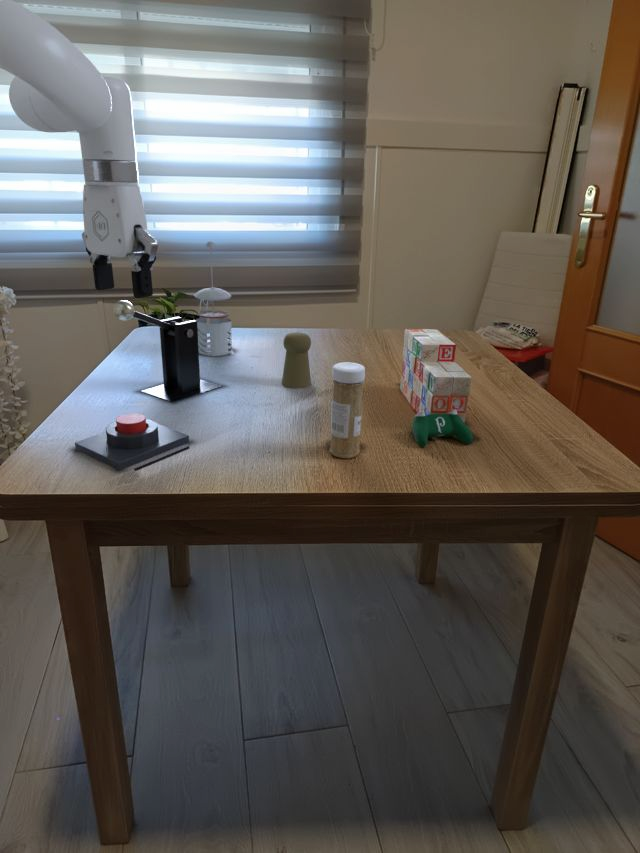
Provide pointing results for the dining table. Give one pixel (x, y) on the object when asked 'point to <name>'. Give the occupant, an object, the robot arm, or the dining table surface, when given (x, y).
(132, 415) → the button
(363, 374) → the sprinkles bottle
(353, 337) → the dining table surface
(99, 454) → the button block
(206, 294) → the french press
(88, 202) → the robot arm
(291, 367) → the cork
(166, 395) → the switch bracket
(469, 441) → the gaming controller
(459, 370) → the stack of blocks
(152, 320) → the switch lever
